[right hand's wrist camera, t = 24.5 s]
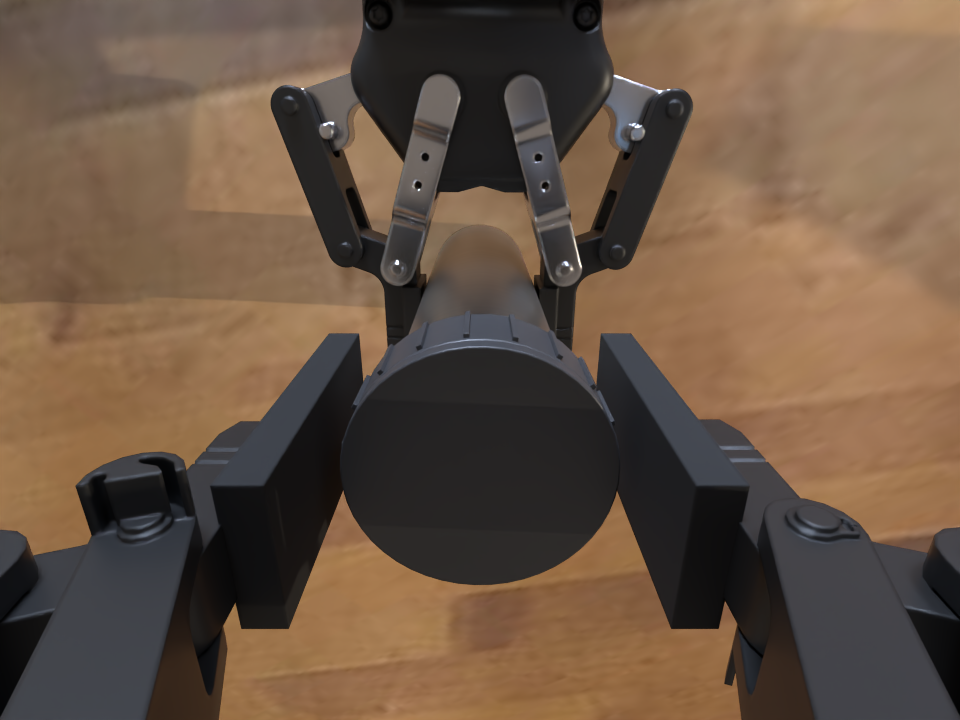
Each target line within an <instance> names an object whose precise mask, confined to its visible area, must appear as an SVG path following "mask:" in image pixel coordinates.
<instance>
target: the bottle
mask: <svg viewBox="0 0 960 720" xmlns="http://www.w3.org/2000/svg"><path fill="white" fill-rule="evenodd" d="M466 311H470V312H471V314H491V315H501V316H506V317H509V314H513V315H515V319H519V320H522V321H524V322H527V323H530V324H532V325H535V326H537V327H539V328H541V329H543V330H544V331H546V332H549V330H550V329H549V326H548V323H547V321H546V318H545V315H544V313H543V310H542V307H541V304H540V302H539V299H538V296H537V294H536V291H535V288H534V285H533V283H532V280H531V277H530V275H529V272H528V269H527V267H526V264H525V261H524V258H523V256H522V253H521V251H520V249H519V247H518V245H517V244H516V242H515V241H514V240H513V239H512V238H511V237H510V236H509V235H508V234H507V233H505V232H503V231H502V230H500V229H498V228H495V227H492V226H487V225H473V226H468V227H465V228H463V229H460V230H459V231H457V232H455V233H454V234H452V235H451V236H450V237H449V238H448V239H447V240H446V241H445V243H444V244H443V245H442V247H441V249H440V251H439V254H438V256H437V259H436V261H435V264H434V267H433V270H432V272H431V275H430V278H429V280H428V283H427V286H426V289H425V291H424V294H423V297H422V299H421V302H420V305H419V308H418V310H417V313H416V316H415V318H414V321H413V324H412V327H411V329H410V332H409V334H411V333H413V332H414V331H416V330H418V329H419V328H421V327H422V324H423V323H424V322H426V321H428V323H429V324H431V323H433V322H435V321H439V320H442V319H446V318H449V317H454V316H461V315H465V312H466Z"/></svg>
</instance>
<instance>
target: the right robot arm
mask: <svg viewBox="0 0 960 720" xmlns="http://www.w3.org/2000/svg"><path fill="white" fill-rule="evenodd" d="M362 384H363V373H362V362H361V350H360V339H359V334H328V336H327V337H326V338H325V339H324V341H323V342H322V343H321V345H320V346H319V347H318V348H317V350H316V351H315V352H314V353H313V355H312V356H311V357H310V359H309V360H308V361H307V362H306V364H305V365H304V366H303V368H302V369H301V370H300V371H299V373H298V374H297V375H296V376H295V378H294V379H293V380H292V382H291V383H290V384H289V385H288V387H287V388H286V389H285V390H284V392H283V393H282V394H281V396H280V397H279V398H278V399H277V401H276V402H275V403H274V405H273V406H272V407H271V408H270V410H269V411H268V412H267V413H266V415H265V416H264V417H263V419H262V420H261V421H240V422H239V423H237V424H235V425H234V426H232V427H230V428H229V429H227V430H225V431H223V432H222V433H220V434H219V435H218V436H217V437H216V438H215V439H214V440H213V442H212V443H211V444H210V445H209V446H208V447H207V448H206V452H203V453H202V454H201V455H200V456H199V457H198V458H197V460H196V461H195V464H192V465H191V466H190V467H189V468H188V470H187V471H186V467H185V463H184V460H183V459H181V458H180V457H179V456H177V455H176V454H171V453H165V452H149V453H140V454H136V455H131V456H127V457H122V458H120V459H117V460H115V461H112V462H109V463H107V464H104V465H102V466H100V467H99V468H97V469H95V470H94V471H92V472H90V473H89V474H87V475H86V476H85V477H84V478H83V479H82V480H81V481H80V482H79V483H78V484H77V485H76V489H77V492H78V495H79V498H80V501H81V504H82V507H83V510H84V513H85V516H86V519H87V523H88V526H89V529H90V532H91V535H92V536H91V538H90V540H89V542H88V544H86V545H82V546H78V547H73V548H68V549H63V550H58V551H53V552H48V553H43V554H38V555H33V554H32V551H31V549H30V546H29V544H28V541H27V538H26V537H25V536H23V535H22V534H20V533H19V532H18V531H8V530H0V720H219V712H220V704H221V696H222V688H223V680H224V672H225V664H226V656H227V643H226V636H225V632H224V628H223V625H224V623H225V621H226V619H227V617H228V615H229V614H230V612H231V610H232V608H233V606H234V604H235V602H236V607H237V611H238V616H239V620H240V625H241V629H289V627H290V624H291V622H292V619H293V616H294V614H295V611H296V609H297V606H298V604H299V601H300V599H301V596H302V594H303V591H304V588H305V586H306V583H307V581H308V578H309V576H310V573H311V571H312V568H313V566H314V563H315V560H316V558H317V555H318V553H319V550H320V548H321V545H322V543H323V540H324V537H325V535H326V532H327V530H328V527H329V525H330V522H331V520H332V517H333V515H334V512H335V509H336V507H337V504H338V502H339V499H340V497H341V494H342V492H343V487H342V481H341V474H340V455H341V449H342V447H341V444H342V441H343V439H344V436H345V433H346V430H347V427H348V424H349V422H350V420H351V417H352V416H353V413H354V411H355V410H354V409H352V408H351V407H352V405H353V403H354V401H355V399H356V397H357V395H358V392H359V390H360V388H361V386H362ZM596 386H597V388H596V391H599V390H600V392H601V394H602V396H603V398H604V400H605V402H606V404H607V406H608V408H609V411H610V413H611V415H612V417H613V419H614V421H615V424H616V425H614V426H613V428H614V431H615V434H616V437H617V442H618V446H619V451H620V477H619V484H618V488H617V492H618V494H619V497H620V499H621V502H622V504H623V507H624V509H625V512H626V515H627V517H628V520H629V522H630V525H631V527H632V530H633V532H634V535H635V537H636V540H637V543H638V545H639V548H640V550H641V553H642V555H643V558H644V560H645V563H646V565H647V568H648V571H649V573H650V576H651V578H652V581H653V583H654V586H655V588H656V591H657V594H658V596H659V599H660V601H661V604H662V606H663V609H664V611H665V614H666V616H667V619H668V622H669V624H670V627H671V629H719V625H720V620H721V616H722V611H723V607H724V602H725V601H726V603H727V605H728V607H729V609H730V611H731V613H732V614H733V616H734V618H735V620H736V622H737V628H736V632H735V636H734V641H733V645H732V649H731V653H730V658H729V662H728V666H727V670H726V676H725V683H724V684H727V685H731V686H732V684H733V680H734V676H735V673H736V679H737V687H738V695H739V703H740V711H741V719H742V720H960V527H958V528H947V529H943V530H941V531H940V532H938V533H937V534H935V536H934V538H933V541H932V544H931V546H930V549H929V551H928V553H925V552H920V551H915V550H910V549H905V548H900V547H895V546H890V545H885V544H880V543H876V542H872V541H871V539H870V537H869V535H868V534H867V533H866V532H865V530H864V529H863V528H862V527H861V525H860V524H859V523H858V522H856V521H855V520H853V519H852V518H851V517H849V516H848V515H846V514H845V513H843V512H841V511H839V510H837V509H835V508H833V507H830V506H828V505H826V504H823V503H819V502H816V501H812V500H808V499H802V498H800V497H799V496H798V495H797V494H796V493H795V492H794V490H793V489H792V488H791V487H790V486H789V485H788V484H787V483H786V482H785V480H784V479H783V478H782V477H781V476H780V475H779V474H778V473H777V472H776V470H775V469H774V468H773V467H772V466H771V465H770V464H769V463H768V462H765V458H764V457H763V456H762V455H761V454H760V453H759V451H758V450H755V449H754V446H753V445H752V444H751V443H750V441H749V440H748V439H747V438H746V437H745V436H744V435H743V434H742V433H741V432H740V431H738V430H737V429H735V428H733V427H732V426H730V425H728V424H726V423H725V422H723V421H721V420H698V419H697V417H696V416H695V415H694V413H693V412H692V411H691V410H690V408H689V407H688V406H687V404H686V403H685V402H684V401H683V399H682V398H681V397H680V396H679V394H678V393H677V392H676V390H675V389H674V388H673V387H672V385H671V384H670V383H669V382H668V380H667V379H666V378H665V376H664V375H663V374H662V373H661V371H660V370H659V369H658V368H657V366H656V365H655V364H654V362H653V361H652V360H651V359H650V357H649V356H648V355H647V353H646V352H645V351H644V350H643V348H642V347H641V346H640V345H639V343H638V342H637V341H636V339H635V338H634V337H633V336H632V334H601V339H600V350H599V362H598V373H597V385H596Z"/></svg>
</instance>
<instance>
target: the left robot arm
mask: <svg viewBox="0 0 960 720" xmlns="http://www.w3.org/2000/svg"><path fill="white" fill-rule="evenodd" d="M362 6H363V30H362V36H361V40H360V44H359V46H358V49H357V51H356V53H355V56H354V58H353V61H352V65H351V73H349V74H346V75H343V76H340V77H337V78H335V79H332V80H329V81H326V82H323V83H320V84H317V85H314V86H311V87H308V88H305V89H302V88H298V87H295V86H291V85H284V86H281V87H279V88H277V89H276V90H275V91H274V93H273V95H272V98H271V109H272V112H273V115H274V117H275V120H276V122H277V125H278V127H279V130H280V132H281V135H282V138H283V140H284V143H285V145H286V148H287V150H288V153H289V155H290V158H291V160H292V163H293V165H294V168H295V170H296V173H297V175H298V178H299V180H300V183H301V185H302V188H303V190H304V193H305V195H306V198H307V200H308V203H309V206H310V208H311V211H312V213H313V216H314V218H315V221H316V223H317V226H318V228H319V231H320V233H321V236H322V238H323V241H324V243H325V246H326V248H327V251H328V253H329V256H330V258H331V259H332V261H333V262H334V263H336V264H337V265H339V266H341V267H352V266H353V267H356V268H358V269H361V270H364V271H367V272H369V273H372V274H373V275H375V276H376V277H377V278H378V279H379V280H380V281H381V283H382V285H383V288H384V294H385V310H386V326H387V343H388V346H389V345H390V344H393V345H394V346H395V345H396V344H397V343H398V342H400V341H401V340H402V339H403V338H405V337H406V336H408V335H409V332H410V329H411V327H412V324H413V321H414V318H415V316H416V313H417V310H418V308H419V305H420V302H421V299H422V297H423V294H424V291H425V289H426V286H427V285H426V274H421V273H420V261H421V258H422V254H423V250H424V247H425V243H426V240H427V236H428V232H429V229H430V225H431V221H432V218H433V215H434V212H435V209H436V205H437V202H438V198H439V194H440V192H460V191H464V190H468V189H471V188H475V187H479V186H485V187H488V188H492V189H495V190H499V191H502V192H523V196H524V200H525V203H526V207H527V211H528V214H529V217H530V220H531V224H532V228H533V231H534V235H535V239H536V243H537V247H538V251H539V254H540V258H541V262H540V275H534V288H535V291H536V294H537V296H538V299H539V302H540V304H541V307H542V310H543V313H544V315H545V318H546V321H547V323H548V326H549V329H550V330H551V331H553V332H554V333H555V336H556V338H557V339H558V340H560V341H561V342H562V343H563V344H565V345H566V346H567V347H568V348H569V349H570V350H571V351H572V341H573V339H572V338H573V327H574V313H575V299H576V290H577V287H578V285H579V283H580V282H581V281H582V280H583V279H584V278H585V277H586V276H588V275H590V274H593V273H596V272H598V271H601V270H604V269H607V268H609V269H613V270H618V269H622V268H624V267H625V266H627V265H628V264H629V263H630V262H631V260H632V258H633V256H634V253H635V251H636V249H637V246H638V244H639V241H640V239H641V236H642V234H643V232H644V229H645V227H646V224H647V222H648V219H649V217H650V214H651V212H652V210H653V207H654V205H655V202H656V200H657V197H658V195H659V193H660V190H661V188H662V185H663V183H664V180H665V178H666V175H667V173H668V171H669V168H670V166H671V163H672V161H673V158H674V156H675V154H676V151H677V149H678V146H679V144H680V141H681V139H682V136H683V134H684V132H685V129H686V127H687V124H688V122H689V119H690V117H691V114H692V110H693V102H692V99H691V97H690V95H689V94H688V93H687V92H686V91H684V90H682V89H670V90H663V91H659V90H656V89H653V88H650V87H648V86H645V85H642V84H639V83H636V82H633V81H631V80H628V79H625V78H622V77H619V76H616V75H614V69H613V64H612V60H611V58H610V56H609V53H608V51H607V48H606V45H605V42H604V38H603V31H602V12H603V0H362ZM361 106H363V107H364V108H365V110H366V111H367V112H368V114H369V115H370V117H371V118H372V119H373V121H374V122H375V124H376V125H377V126H378V128H379V129H380V130H381V132H382V133H383V135H384V136H385V137H386V139H387V140H388V141H389V143H390V144H391V146H392V147H393V148H394V150H395V151H396V153H397V154H398V155H399V157H400V158H401V159H402V161H403V162H404V166H403V170H402V174H401V178H400V182H399V186H398V190H397V194H396V198H395V202H394V206H393V212H392V221H391V225H390V229H389V233H388V236H387V235H384V234H381V233H379V232H376V231H373V230H372V228H371V225H370V222H369V220H368V217H367V214H366V211H365V209H364V206H363V203H362V200H361V197H360V195H359V192H358V189H357V186H356V184H355V181H354V178H353V175H352V173H351V170H350V167H349V164H348V161H347V159H346V156H345V153H344V150H345V149H347V148H348V147H350V146H351V144H352V143H353V141H354V138H355V130H354V125H353V120H354V115H355V113H356V111H357V110H358V109H359V108H360V107H361ZM601 107H602V108H603V109H605V110H606V112H607V113H608V115H609V118H610V129H609V141H610V143H611V145H612V147H613V148H614V149H616V150H618V151H620V153H619V155H618V158H617V161H616V163H615V166H614V169H613V171H612V174H611V177H610V179H609V182H608V185H607V187H606V190H605V193H604V195H603V198H602V201H601V203H600V206H599V209H598V211H597V214H596V217H595V219H594V222H593V225H592V227H591V230H590V231H589V232H586V233H584V234H581V235H578V236H574V231H573V227H572V223H571V212H570V207H569V202H568V198H567V194H566V189H565V185H564V181H563V176H562V172H561V168H560V162H561V161H562V160H563V158H564V157H565V156H566V154H567V153H568V152H569V150H570V149H571V148H572V146H573V145H574V144H575V142H576V141H577V139H578V138H579V137H580V135H581V134H582V133H583V131H584V130H585V129H586V127H587V126H588V125H589V123H590V122H591V121H592V119H593V118H594V117H595V115H596V114H597V113H598V111H599V110H600V108H601Z"/></svg>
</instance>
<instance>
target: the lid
mask: <svg viewBox="0 0 960 720" xmlns="http://www.w3.org/2000/svg"><path fill="white" fill-rule="evenodd" d="M596 388H597V386H596V384H595V382H594V380H593V378H592V376H591V374H590V372H589V369H588V367H587V365H586V363H585V361H584V359H583V358H582V357H580V358H577V357H576V356H575V354H574V353H573V352H572V351H571V350H570V349H569V348H568V347H567V346H566V345H565V344H563V343H562V342H561V341H560V340H558V339H557V338H556V336H555V333H554V332H553V331H551V330H549V332H546V331H544V330H543V329H541V328H539V327H537V326H535V325H532V324H530V323H527V322H524V321H522V320H519V319H515V315H513V314H509V317H506V316H501V315H491V314H471V312H470V311H466V312H465V315H461V316H454V317H449V318H446V319H442V320H439V321H435V322H433V323H431V324H429V323H428V321H426V322H424V323H423V324H422V327H421V328H419V329H418V330H416V331H414V332H413V333H411V334H409V335H408V336H406V337H405V338H403V339H402V340H401V341H400V342H398V343H397V344H396V345H395V346H394V345H393V344H390V345H389V346H388V348H387V351H386V353H385V355H384V357H383V358H382V360H381V361H380V362H379V364H378V365H377V367H376V368H375V369H374V371H373V373H372V375H371V376H369V375H367V376H366V378H365V380H364V382H363V384H362V386H361V388H360V390H359V392H358V395H357V397H356V399H355V401H354V403H353V405H352V407H351V408H352V409H354V410H355V411H354V413H353V416H352V417H351V420H350V422H349V424H348V427H347V430H346V433H345V436H344V439H343V441H342V444H341V447H342V449H341V455H340V474H341V481H342V487H343V491H344V494H345V498H346V501H347V504H348V506H349V508H350V510H351V512H352V514H353V517H354V518H355V520H356V521H357V523H358V524H359V526H360V527H361V529H362V530H363V531H364V533H365V534H366V535H367V536H368V537H369V539H370V540H371V541H372V542H373V543H374V544H375V545H376V546H377V547H379V548H380V549H381V550H382V551H383V552H384V553H386V554H387V555H388V556H390V557H391V558H392V559H394V560H395V561H397V562H398V563H400V564H402V565H404V566H406V567H407V568H409V569H411V570H413V571H416V572H418V573H421V574H423V575H425V576H428V577H432V578H435V579H438V580H442V581H447V582H452V583H458V584H469V585H493V584H501V583H509V582H513V581H518V580H522V579H526V578H529V577H532V576H535V575H538V574H540V573H542V572H545V571H547V570H549V569H551V568H553V567H555V566H557V565H558V564H560V563H562V562H563V561H565V560H567V559H568V558H570V557H571V556H572V555H573V554H575V553H576V552H577V551H579V550H580V549H581V548H582V547H583V546H584V545H585V544H586V543H587V542H588V541H589V540H590V539H591V538H592V537H593V536H594V534H595V533H596V532H597V531H598V529H599V528H600V527H601V525H602V524H603V522H604V520H605V519H606V517H607V515H608V513H609V512H610V509H611V507H612V504H613V502H614V499H615V496H616V492H617V488H618V484H619V477H620V451H619V446H618V442H617V437H616V434H615V431H614V428H613V426H614V425H616V424H615V421H614V419H613V417H612V415H611V413H610V411H609V408H608V406H607V404H606V402H605V400H604V398H603V396H602V394H601V392H600V390H599V391H596Z"/></svg>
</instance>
